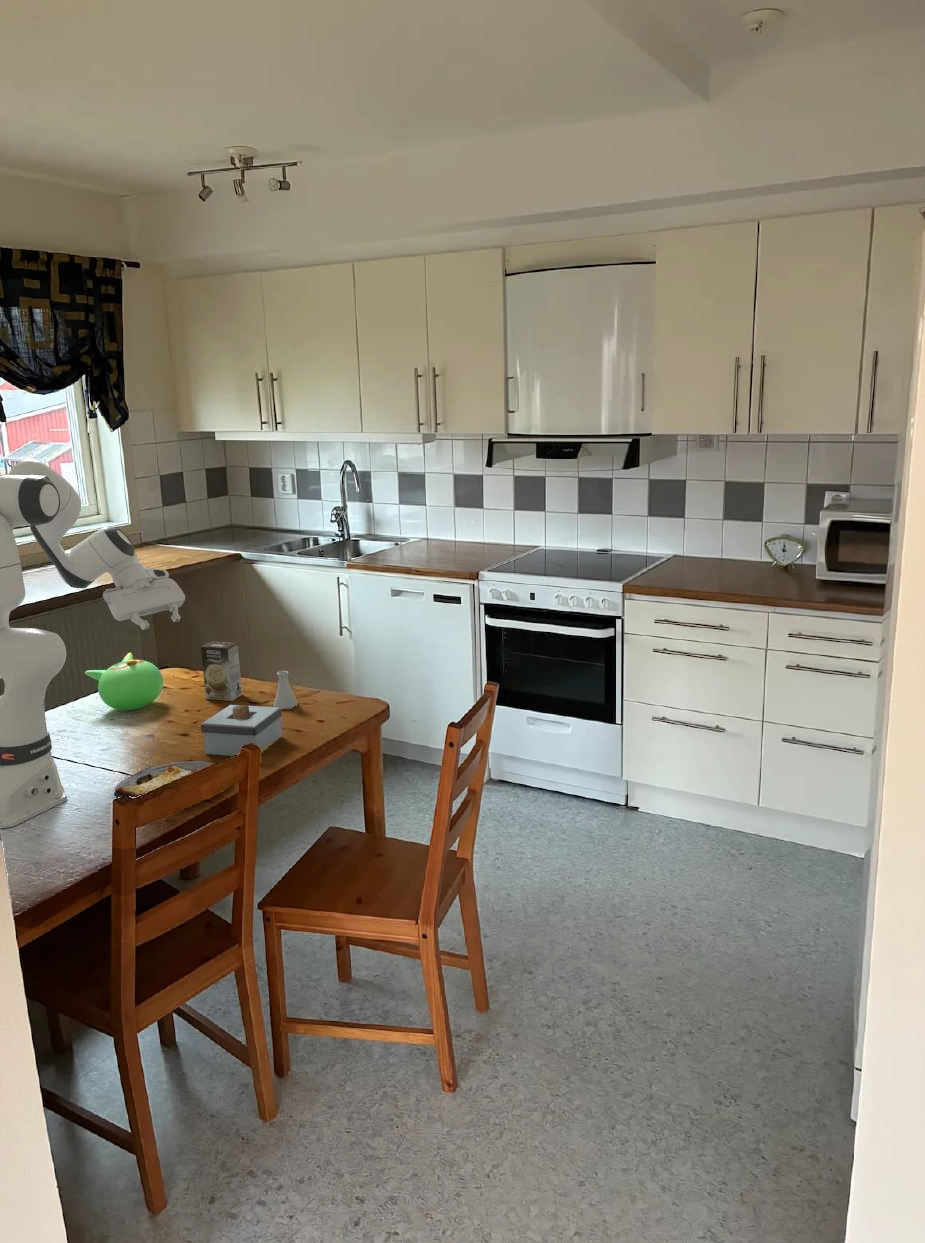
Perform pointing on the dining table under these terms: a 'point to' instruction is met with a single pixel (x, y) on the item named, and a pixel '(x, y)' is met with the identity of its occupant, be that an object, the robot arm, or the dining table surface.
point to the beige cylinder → (241, 712)
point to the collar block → (241, 730)
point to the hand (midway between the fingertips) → (162, 624)
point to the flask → (284, 693)
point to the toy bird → (128, 683)
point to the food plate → (156, 777)
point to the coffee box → (221, 670)
